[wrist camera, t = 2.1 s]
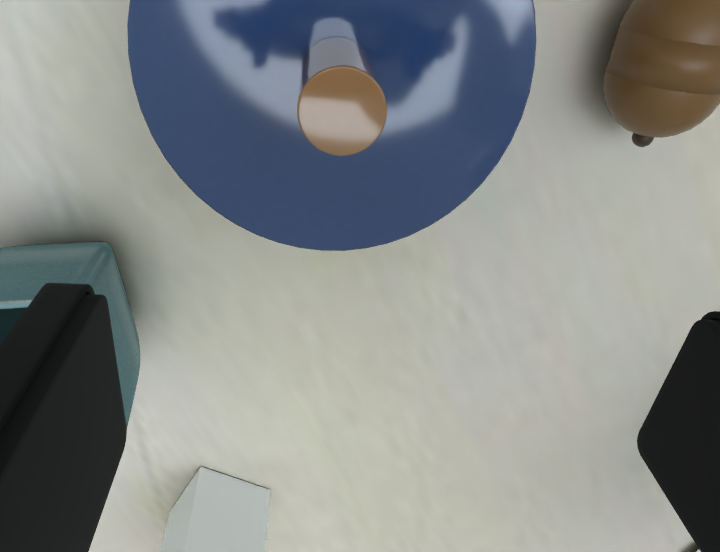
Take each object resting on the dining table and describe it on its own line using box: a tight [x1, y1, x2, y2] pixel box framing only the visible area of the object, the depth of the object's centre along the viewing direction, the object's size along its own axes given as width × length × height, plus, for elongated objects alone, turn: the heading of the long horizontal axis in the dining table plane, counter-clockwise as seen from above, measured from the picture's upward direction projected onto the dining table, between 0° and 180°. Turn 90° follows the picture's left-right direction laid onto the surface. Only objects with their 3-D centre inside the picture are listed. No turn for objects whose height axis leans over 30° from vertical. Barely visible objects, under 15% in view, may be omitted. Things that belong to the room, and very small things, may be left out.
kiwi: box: [603, 0, 720, 147], centre depth 27 cm, size 8×5×5 cm
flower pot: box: [0, 242, 140, 428], centre depth 30 cm, size 9×9×9 cm
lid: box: [127, 0, 536, 251], centre depth 19 cm, size 15×15×6 cm
